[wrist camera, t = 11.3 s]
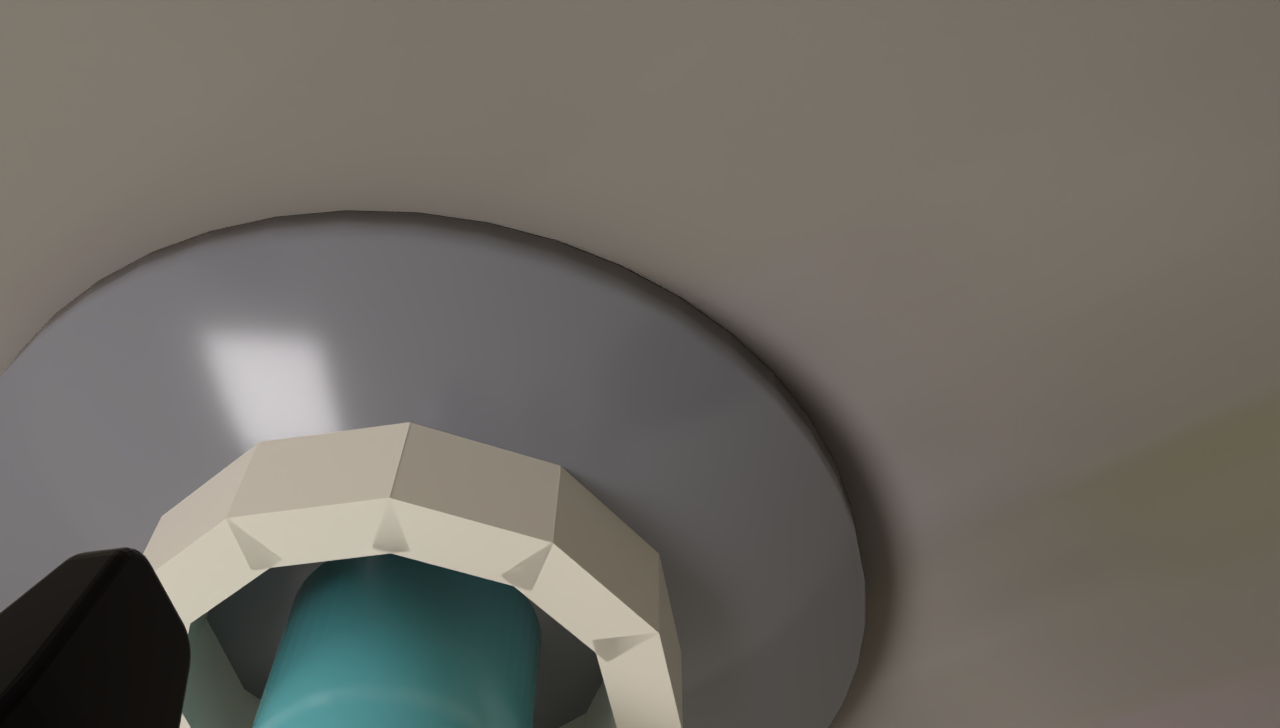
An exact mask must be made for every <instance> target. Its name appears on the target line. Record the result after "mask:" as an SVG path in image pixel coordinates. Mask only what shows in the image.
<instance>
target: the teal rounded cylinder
mask: <svg viewBox="0 0 1280 728" xmlns="http://www.w3.org/2000/svg"><path fill="white" fill-rule="evenodd" d="M540 649H541V629H540V625H539V621H538V617H537V615H536V613H535V611H534V608H533V606H532V605H531V603H530V602H529V600H528V599H527V597H526V596H525V595H524V594H523V593H521V592H520V591H519V590H518V589H516V588H515V587H514V586H511V585H508V584H504V583H500V582H496V581H493V580H489V579H485V578H481V577H478V576H474V575H470V574H466V573H463V572H459V571H455V570H451V569H448V568H444V567H440V566H436V565H433V564H429V563H425V562H421V561H418V560H414V559H410V558H406V557H403V556H399V555H395V554H391V553H390V554H382V555H373V556H365V557H357V558H348V559H340V560H332V561H327V562H325V563H324V564H322V565H321V566H319V567H318V568H317V569H316V570H314V571H313V572H312V573H311V574H310V575H309V576H308V577H307V579H306V580H305V581H304V582H303V583H302V585H301V587H300V588H299V590H298V591H297V593H296V596H295V599H294V601H293V604H292V607H291V610H290V613H289V616H288V619H287V622H286V625H285V628H284V631H283V634H282V637H281V641H280V644H279V647H278V650H277V653H276V656H275V659H274V662H273V665H272V668H271V671H270V674H269V677H268V680H267V683H266V686H265V689H264V692H263V695H262V698H261V701H260V704H259V707H258V710H257V714H256V717H255V720H254V723H253V726H252V728H533V719H534V709H535V699H536V689H537V679H538V669H539V659H540Z"/></svg>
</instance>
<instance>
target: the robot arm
mask: <svg viewBox="0 0 1280 728" xmlns="http://www.w3.org/2000/svg"><path fill="white" fill-rule="evenodd" d="M190 664H191V647H190V640H189V636H188V633H187V630H186V628H185V625H184V623H183V621H182V620H181V618H180V616H179V614H178V612H177V611H176V609H175V607H174V605H173V603H172V602H171V600H170V598H169V596H168V594H167V592H166V591H165V589H164V587H163V585H162V583H161V582H160V580H159V578H158V576H157V574H156V573H155V571H154V569H153V567H152V565H151V564H150V562H149V561H148V559H147V558H146V556H145V555H143V554H142V553H141V552H140V551H138V550H136V549H133V548H128V547H122V548H114V549H106V550H98V551H90V552H84V553H80V554H76V555H74V556H72V557H70V558H68V559H67V560H66V561H64V562H63V563H62V564H61V565H59V566H58V567H57V568H56V569H54V570H53V571H52V572H51V573H49V574H48V575H47V576H46V577H44V578H43V579H42V580H41V581H39V582H38V583H37V584H36V585H34V586H33V587H32V588H31V589H29V590H28V591H27V592H26V593H24V594H23V595H22V596H21V597H19V598H18V599H17V600H16V601H14V602H13V603H12V604H11V605H9V606H8V607H7V608H6V609H4V610H3V611H2V612H1V613H0V728H180V723H181V717H182V711H183V705H184V700H185V694H186V688H187V683H188V677H189V671H190Z"/></svg>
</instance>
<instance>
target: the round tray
mask: <svg viewBox="0 0 1280 728" xmlns="http://www.w3.org/2000/svg"><path fill="white" fill-rule="evenodd" d="M122 547H128V548H133V549H136V550H138V551H140V552H141V553H142V554H143V555H145V556H146V558H147V559H148V561H149V562H150V564H151V565H152V567H153V569H154V571H155V573H156V574H157V576H158V578H159V580H160V582H161V583H162V585H163V587H164V589H165V591H166V592H167V594H168V596H169V598H170V600H171V602H172V603H173V605H174V607H175V609H176V611H177V612H178V614H179V616H180V618H181V620H182V621H183V623H184V625H185V628H186V630H187V633H188V636H189V640H190V647H191V664H190V671H189V677H188V683H187V688H186V694H185V700H184V705H183V711H182V717H181V723H180V728H252V726H253V723H254V720H255V717H256V714H257V710H258V707H259V704H260V701H261V698H262V695H263V692H264V689H265V686H266V683H267V680H268V677H269V674H270V671H271V668H272V665H273V662H274V659H275V656H276V653H277V650H278V647H279V644H280V641H281V637H282V634H283V631H284V628H285V625H286V622H287V619H288V616H289V613H290V610H291V607H292V604H293V601H294V599H295V596H296V593H297V591H298V590H299V588H300V587H301V585H302V583H303V582H304V581H305V580H306V579H307V577H308V576H309V575H310V574H311V573H312V572H313V571H314V570H316V569H317V568H318V567H319V566H321V565H322V564H324V563H325V562H327V561H332V560H340V559H348V558H357V557H365V556H373V555H382V554H390V553H391V554H395V555H399V556H403V557H406V558H410V559H414V560H418V561H421V562H425V563H429V564H433V565H436V566H440V567H444V568H448V569H451V570H455V571H459V572H463V573H466V574H470V575H474V576H478V577H481V578H485V579H489V580H493V581H496V582H500V583H504V584H508V585H511V586H514V587H515V588H516V589H518V590H519V591H520V592H521V593H523V594H524V595H525V596H526V597H527V599H528V600H529V602H530V603H531V605H532V606H533V608H534V611H535V613H536V615H537V617H538V621H539V625H540V629H541V649H540V659H539V669H538V679H537V689H536V699H535V709H534V719H533V728H829V726H830V724H831V723H832V721H833V719H834V718H835V716H836V714H837V713H838V711H839V709H840V708H841V706H842V704H843V702H844V700H845V697H846V695H847V692H848V689H849V687H850V684H851V682H852V679H853V676H854V674H855V671H856V669H857V666H858V661H859V656H860V651H861V645H862V640H863V635H864V629H865V579H864V573H863V568H862V563H861V558H860V552H859V547H858V542H857V536H856V531H855V526H854V521H853V516H852V511H851V505H850V502H849V499H848V496H847V494H846V491H845V489H844V486H843V483H842V481H841V478H840V475H839V473H838V470H837V467H836V465H835V462H834V460H833V458H832V456H831V454H830V453H829V451H828V449H827V447H826V446H825V444H824V442H823V441H822V439H821V437H820V435H819V434H818V432H817V430H816V429H815V427H814V425H813V423H812V422H811V420H810V418H809V417H808V415H807V414H806V413H805V411H804V410H803V409H802V408H801V406H800V405H799V404H798V403H797V402H796V400H795V399H794V398H793V397H792V395H791V394H790V393H789V392H788V390H787V389H786V388H785V387H784V386H783V384H782V383H781V382H780V381H779V379H778V378H777V377H776V376H775V374H774V373H773V372H772V371H771V370H769V369H768V368H767V367H766V366H765V365H764V364H763V363H762V362H761V361H760V360H759V359H758V358H757V357H755V356H754V355H753V354H752V353H751V352H750V351H749V350H748V349H747V348H746V347H745V346H744V345H742V344H741V343H740V342H739V341H738V340H737V339H736V338H735V337H734V336H733V335H732V334H731V333H729V332H728V331H726V330H725V329H724V328H722V327H721V326H719V325H718V324H716V323H715V322H714V321H712V320H711V319H709V318H708V317H706V316H705V315H704V314H702V313H701V312H699V311H698V310H697V309H695V308H694V307H692V306H691V305H689V304H688V303H687V302H685V301H684V300H682V299H681V298H680V297H678V296H676V295H674V294H672V293H670V292H668V291H667V290H665V289H663V288H661V287H659V286H657V285H655V284H653V283H652V282H650V281H648V280H646V279H644V278H642V277H640V276H638V275H637V274H635V273H633V272H631V271H629V270H627V269H625V268H623V267H622V266H619V265H617V264H614V263H612V262H609V261H606V260H604V259H601V258H599V257H596V256H594V255H591V254H588V253H586V252H583V251H581V250H578V249H576V248H573V247H570V246H568V245H565V244H563V243H560V242H558V241H555V240H551V239H547V238H543V237H539V236H536V235H532V234H528V233H524V232H520V231H517V230H513V229H509V228H505V227H501V226H497V225H494V224H490V223H485V222H478V221H471V220H464V219H457V218H450V217H443V216H436V215H429V214H422V213H412V212H377V211H335V212H324V213H313V214H302V215H291V216H279V217H273V218H268V219H264V220H259V221H254V222H250V223H245V224H241V225H236V226H231V227H227V228H222V229H218V230H213V231H209V232H207V233H204V234H201V235H198V236H195V237H193V238H190V239H187V240H184V241H182V242H179V243H176V244H173V245H171V246H168V247H165V248H162V249H160V250H157V251H154V252H151V253H149V254H148V255H146V256H144V257H142V258H140V259H138V260H136V261H135V262H133V263H131V264H129V265H127V266H125V267H123V268H122V269H120V270H118V271H116V272H114V273H112V274H110V275H109V276H107V277H105V278H103V279H101V280H99V281H98V282H96V283H95V284H94V285H93V286H91V287H90V288H89V289H87V290H86V291H85V292H83V293H82V294H81V295H79V296H78V297H77V298H75V299H74V300H73V301H72V302H70V303H69V304H68V305H66V306H65V307H64V308H62V309H61V310H60V311H58V312H57V313H56V314H55V315H54V316H53V317H52V318H51V319H50V320H49V321H48V322H47V323H46V324H45V325H44V327H43V328H42V329H41V330H40V331H39V332H38V333H37V334H36V335H35V336H34V337H33V338H32V340H31V341H30V342H29V343H28V344H27V345H26V346H25V347H24V348H23V349H22V350H21V352H20V353H19V354H18V355H17V357H16V358H15V359H14V361H13V362H12V363H11V364H10V366H9V367H8V368H7V370H6V371H5V372H4V374H3V375H2V376H1V378H0V613H1V612H2V611H3V610H4V609H6V608H7V607H8V606H9V605H11V604H12V603H13V602H14V601H16V600H17V599H18V598H19V597H21V596H22V595H23V594H24V593H26V592H27V591H28V590H29V589H31V588H32V587H33V586H34V585H36V584H37V583H38V582H39V581H41V580H42V579H43V578H44V577H46V576H47V575H48V574H49V573H51V572H52V571H53V570H54V569H56V568H57V567H58V566H59V565H61V564H62V563H63V562H64V561H66V560H67V559H68V558H70V557H72V556H74V555H76V554H80V553H84V552H90V551H98V550H106V549H114V548H122Z"/></svg>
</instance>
